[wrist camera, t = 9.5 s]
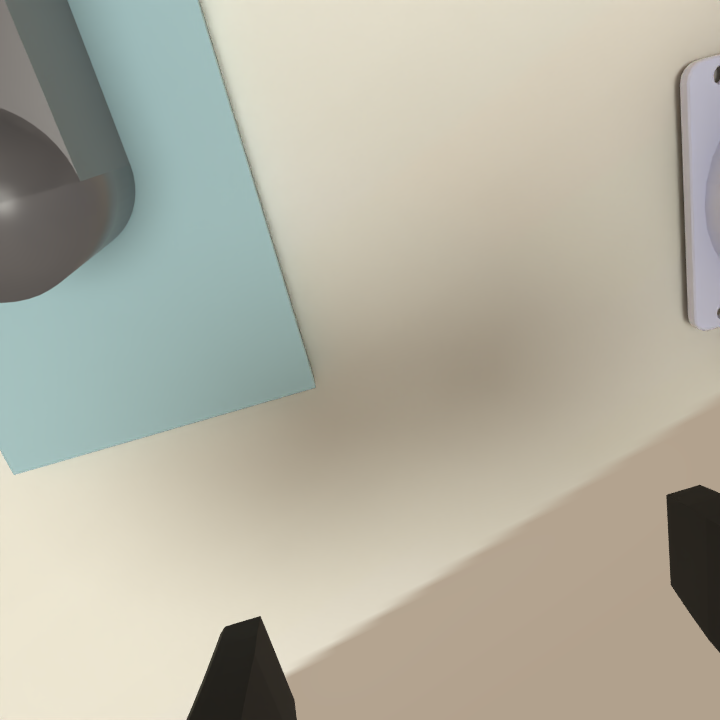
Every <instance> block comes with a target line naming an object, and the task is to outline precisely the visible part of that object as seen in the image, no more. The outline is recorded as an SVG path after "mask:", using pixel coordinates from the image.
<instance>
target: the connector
mask: <svg viewBox="0 0 720 720" xmlns="http://www.w3.org/2000/svg"><path fill="white" fill-rule="evenodd" d="M134 203H135V181H134V175H133V172H132V169H131V165H130V163H129V160H128V157H127V155H126V152H125V150H124V147H123V144H122V142H121V139H120V136H119V134H118V131H117V129H116V126H115V123H114V121H113V118H112V116H111V113H110V110H109V108H108V105H107V102H106V100H105V97H104V95H103V92H102V89H101V87H100V84H99V82H98V79H97V76H96V74H95V71H94V68H93V66H92V63H91V61H90V58H89V55H88V53H87V50H86V48H85V45H84V42H83V40H82V37H81V34H80V32H79V29H78V27H77V24H76V21H75V19H74V16H73V14H72V11H71V8H70V6H69V3H68V0H0V303H8V302H18V301H22V300H27V299H30V298H33V297H36V296H39V295H41V294H43V293H45V292H47V291H49V290H51V289H52V288H53V287H55V286H56V285H58V284H59V283H60V282H62V281H63V280H64V279H65V278H67V277H68V276H69V275H70V274H72V273H73V272H74V271H75V270H77V269H78V268H79V267H80V266H82V265H83V264H84V263H85V262H87V261H88V260H89V259H90V258H92V257H93V256H94V255H95V254H97V253H98V252H99V251H100V250H102V249H103V248H104V247H105V246H107V245H108V244H109V243H110V242H112V241H113V240H114V239H115V238H116V237H117V236H118V235H119V234H120V233H121V232H122V230H123V229H124V228H125V226H126V225H127V223H128V221H129V219H130V217H131V214H132V211H133V207H134Z"/></svg>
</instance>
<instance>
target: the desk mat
mask: <svg viewBox="0 0 720 720" xmlns="http://www.w3.org/2000/svg"><path fill="white" fill-rule="evenodd" d="M68 3H69V6H70V8H71V11H72V14H73V16H74V19H75V21H76V24H77V27H78V29H79V32H80V34H81V37H82V40H83V42H84V45H85V48H86V50H87V53H88V55H89V58H90V61H91V63H92V66H93V68H94V71H95V74H96V76H97V79H98V82H99V84H100V87H101V89H102V92H103V95H104V97H105V100H106V102H107V105H108V108H109V110H110V113H111V116H112V118H113V121H114V123H115V126H116V129H117V131H118V134H119V136H120V139H121V142H122V144H123V147H124V150H125V152H126V155H127V157H128V160H129V163H130V165H131V169H132V172H133V175H134V181H135V203H134V207H133V211H132V214H131V217H130V219H129V221H128V223H127V225H126V226H125V228H124V229H123V230H122V232H121V233H120V234H119V235H118V236H117V237H116V238H115V239H114V240H113V241H112V242H110V243H109V244H108V245H107V246H105V247H104V248H103V249H102V250H100V251H99V252H98V253H97V254H95V255H94V256H93V257H92V258H90V259H89V260H88V261H87V262H85V263H84V264H83V265H82V266H80V267H79V268H78V269H77V270H75V271H74V272H73V273H72V274H70V275H69V276H68V277H67V278H65V279H64V280H63V281H62V282H60V283H59V284H58V285H56V286H55V287H53V288H52V289H51V290H49V291H47V292H45V293H43V294H41V295H39V296H36V297H33V298H30V299H27V300H22V301H18V302H8V303H0V451H1V453H2V454H3V456H4V458H5V460H6V462H7V463H8V465H9V467H10V469H11V471H12V472H13V474H14V475H15V474H19V473H22V472H26V471H29V470H33V469H36V468H40V467H43V466H47V465H50V464H53V463H57V462H60V461H64V460H67V459H71V458H74V457H78V456H81V455H85V454H88V453H92V452H95V451H98V450H102V449H105V448H109V447H112V446H116V445H119V444H123V443H126V442H130V441H133V440H136V439H140V438H143V437H147V436H150V435H154V434H157V433H161V432H164V431H168V430H171V429H174V428H178V427H181V426H185V425H188V424H192V423H195V422H199V421H202V420H206V419H209V418H213V417H216V416H219V415H223V414H226V413H230V412H233V411H237V410H240V409H244V408H247V407H251V406H254V405H257V404H261V403H264V402H268V401H271V400H275V399H278V398H282V397H285V396H289V395H292V394H295V393H299V392H302V391H306V390H309V389H313V388H316V386H315V381H314V376H313V373H312V370H311V366H310V363H309V360H308V357H307V353H306V350H305V347H304V343H303V340H302V337H301V334H300V330H299V327H298V324H297V320H296V317H295V314H294V311H293V307H292V304H291V301H290V297H289V294H288V291H287V288H286V284H285V281H284V278H283V274H282V271H281V268H280V265H279V261H278V258H277V255H276V252H275V248H274V245H273V242H272V238H271V235H270V232H269V229H268V225H267V222H266V219H265V215H264V212H263V209H262V206H261V202H260V199H259V196H258V192H257V189H256V186H255V183H254V179H253V176H252V173H251V169H250V166H249V163H248V160H247V156H246V153H245V150H244V146H243V143H242V140H241V137H240V133H239V130H238V127H237V123H236V120H235V117H234V114H233V110H232V107H231V104H230V100H229V97H228V94H227V91H226V87H225V84H224V81H223V77H222V74H221V71H220V68H219V64H218V61H217V58H216V54H215V51H214V48H213V45H212V41H211V38H210V35H209V32H208V28H207V25H206V22H205V18H204V15H203V12H202V9H201V5H200V2H199V0H68Z"/></svg>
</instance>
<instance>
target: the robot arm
mask: <svg viewBox="0 0 720 720" xmlns="http://www.w3.org/2000/svg"><path fill="white" fill-rule="evenodd" d="M718 66H719V67H720V54H717V55H713V56H710V57H706V58H702V59H699V60H696V61H694V62H692V63H690V64H689V65H688V66H687V67H686V68H685V69H684V71H683V74H682V76H681V81H680V98H681V127H682V155H683V184H684V213H685V241H686V270H687V298H688V319H689V322H690V323H691V325H692V326H694V327H696V328H698V329H700V330H703V331H705V330H711V329H715V328H718V327H720V314H719V315H717V312H718V309H719V308H720V80H719V81H718V83H716V82H715V81H714V77H713V76H714V71H715V70H716V68H717V67H718ZM667 516H668V535H669V555H670V577H671V586H672V587H673V589H674V590H675V592H676V593H677V595H678V596H679V598H680V599H681V601H682V602H683V604H684V605H685V607H686V608H687V610H688V611H689V613H690V614H691V615H692V617H693V618H694V620H695V621H696V623H697V624H698V625H699V627H700V628H701V630H702V631H703V632H704V634H705V635H706V637H707V638H708V639H709V641H710V642H711V643H712V644H713V645H714V646H715V648H716V649H717V650H718V651H719V652H720V493H718V492H716V491H713V490H711V489H708V488H706V487H704V486H701V485H698V486H695V487H692V488H688V489H685V490H681V491H678V492H675V493H671V494H668V495H667ZM187 720H297V718H296V710H295V702H294V698H293V696H292V693H291V691H290V688H289V686H288V683H287V681H286V678H285V676H284V673H283V671H282V668H281V666H280V663H279V661H278V658H277V656H276V653H275V651H274V648H273V646H272V644H271V641H270V639H269V636H268V634H267V631H266V629H265V626H264V624H263V621H262V619H261V616H259V617H256V618H253V619H249V620H246V621H243V622H239V623H236V624H233V625H229V626H226V627H225V628H224V629H223V631H222V632H221V634H220V637H219V640H218V642H217V645H216V648H215V650H214V653H213V655H212V658H211V661H210V663H209V666H208V669H207V671H206V674H205V676H204V679H203V681H202V684H201V686H200V689H199V691H198V694H197V696H196V698H195V701H194V703H193V706H192V708H191V711H190V713H189V715H188V718H187Z"/></svg>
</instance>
